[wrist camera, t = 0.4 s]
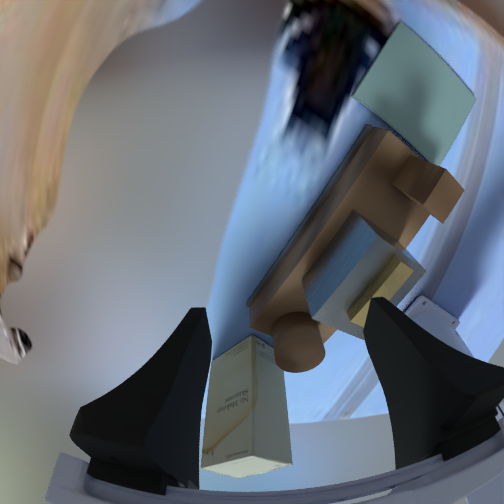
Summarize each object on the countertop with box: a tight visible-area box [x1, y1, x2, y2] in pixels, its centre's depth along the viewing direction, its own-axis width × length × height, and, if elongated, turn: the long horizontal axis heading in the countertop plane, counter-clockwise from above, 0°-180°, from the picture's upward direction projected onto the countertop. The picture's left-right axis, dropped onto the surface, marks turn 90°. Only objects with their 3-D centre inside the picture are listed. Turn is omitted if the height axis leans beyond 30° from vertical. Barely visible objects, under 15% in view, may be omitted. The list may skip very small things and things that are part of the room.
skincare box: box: [201, 335, 292, 478], centre depth 22 cm, size 6×4×12 cm
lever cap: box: [301, 209, 426, 340], centre depth 17 cm, size 4×6×5 cm
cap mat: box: [351, 22, 476, 166], centre depth 15 cm, size 9×8×1 cm
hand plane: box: [247, 124, 464, 373], centre depth 18 cm, size 17×7×7 cm, turn 150°
